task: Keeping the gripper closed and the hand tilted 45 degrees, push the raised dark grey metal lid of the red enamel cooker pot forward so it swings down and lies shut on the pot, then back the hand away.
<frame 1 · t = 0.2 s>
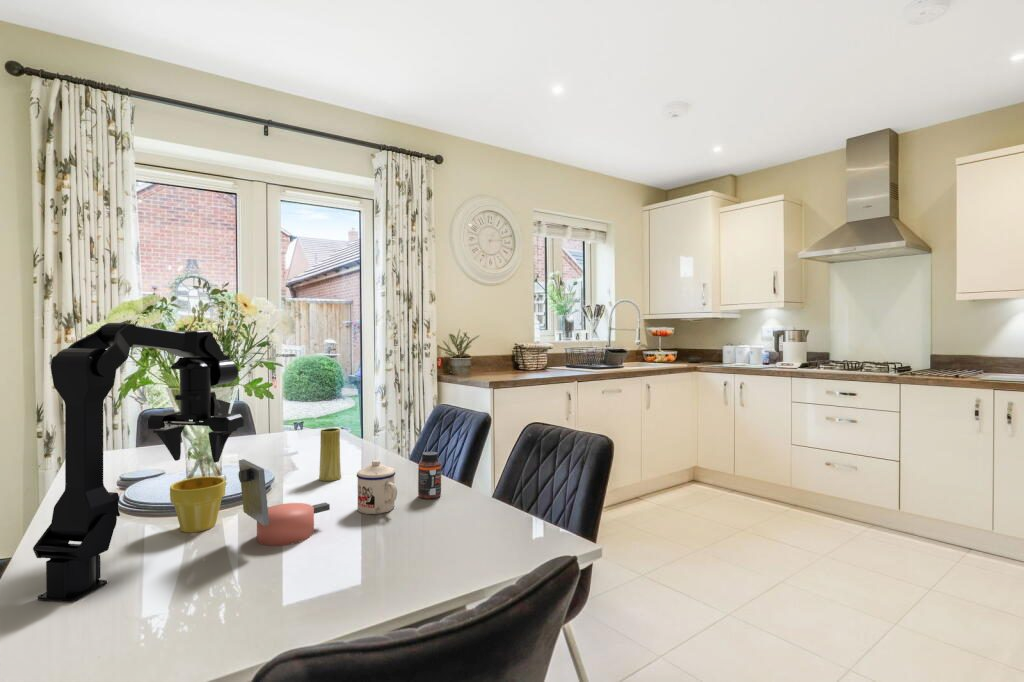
hand: (196, 461, 114), 15 cm above the table, tool pointing down, fingers open, 9 cm apart
vase: (330, 479, 154), on the table
plant pot: (198, 528, 115), on the table
teacup with lid: (379, 510, 127), on the table
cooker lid: (249, 492, 105), point 11 cm above the table, hinge at 95.0°
cooker pot: (285, 535, 111), on the table
supplement bottle: (429, 496, 138), on the table
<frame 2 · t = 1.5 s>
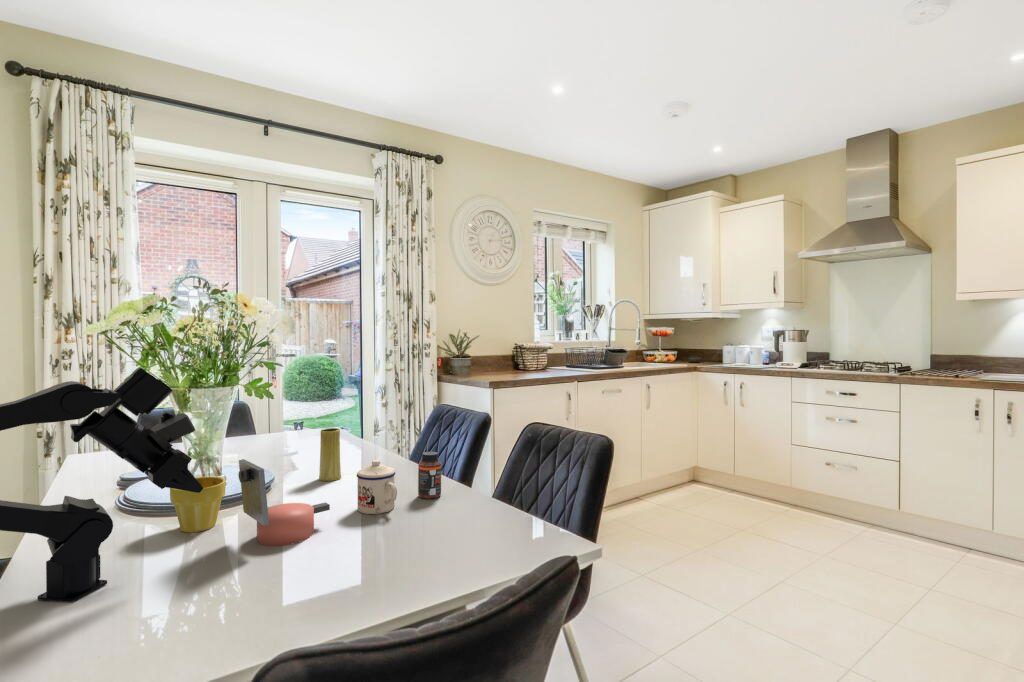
hand: (196, 487, 99), 14 cm above the table, tool tilted 45°, fingers open, 6 cm apart
nothing on the table moved.
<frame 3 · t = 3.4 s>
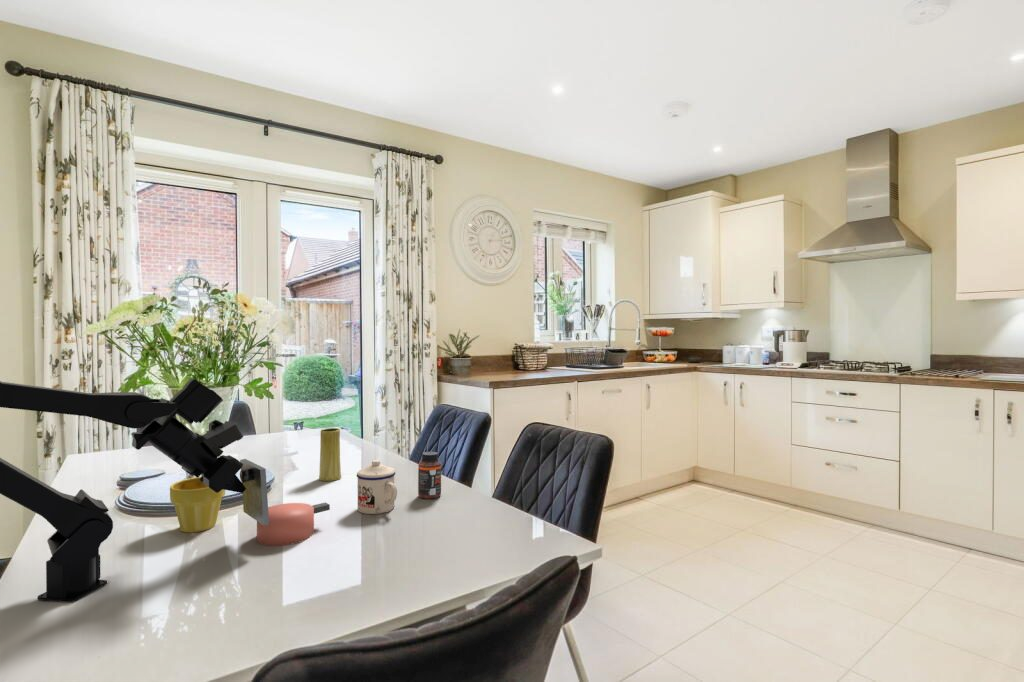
hand: (243, 490, 105), 11 cm above the table, tool tilted 45°, fingers closed, pressing on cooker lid
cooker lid: (250, 492, 106), point 11 cm above the table, hinge at 93.5°, touching gripper
everything else where it was.
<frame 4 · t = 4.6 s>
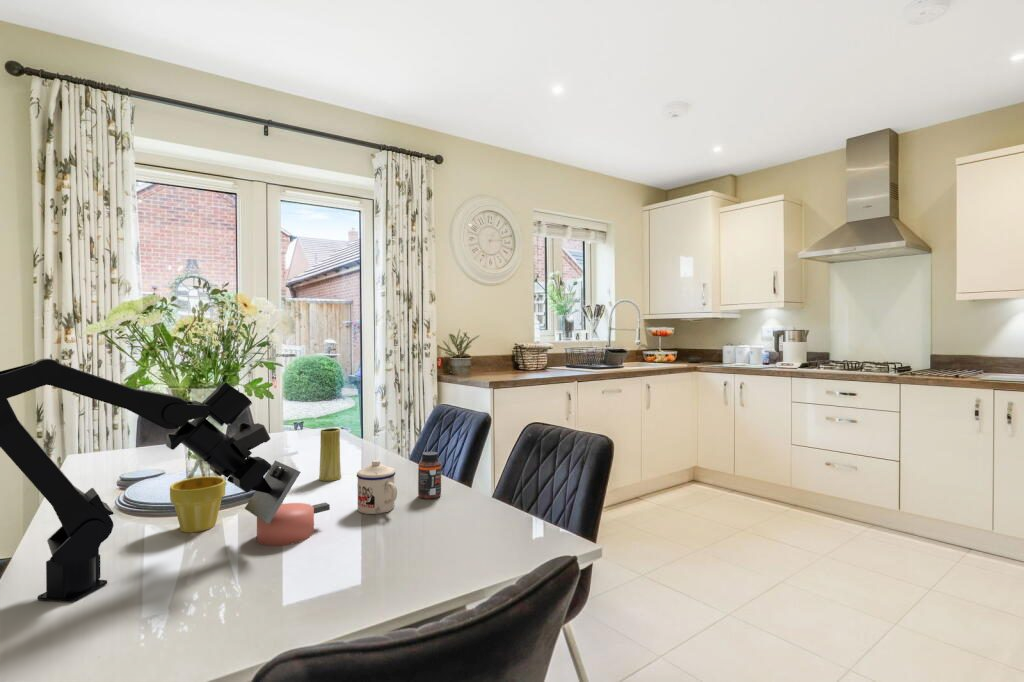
hand: (269, 491, 108), 10 cm above the table, tool tilted 45°, fingers closed, pressing on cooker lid
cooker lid: (269, 489, 108), point 10 cm above the table, hinge at 55.1°, touching gripper
everything else where it was.
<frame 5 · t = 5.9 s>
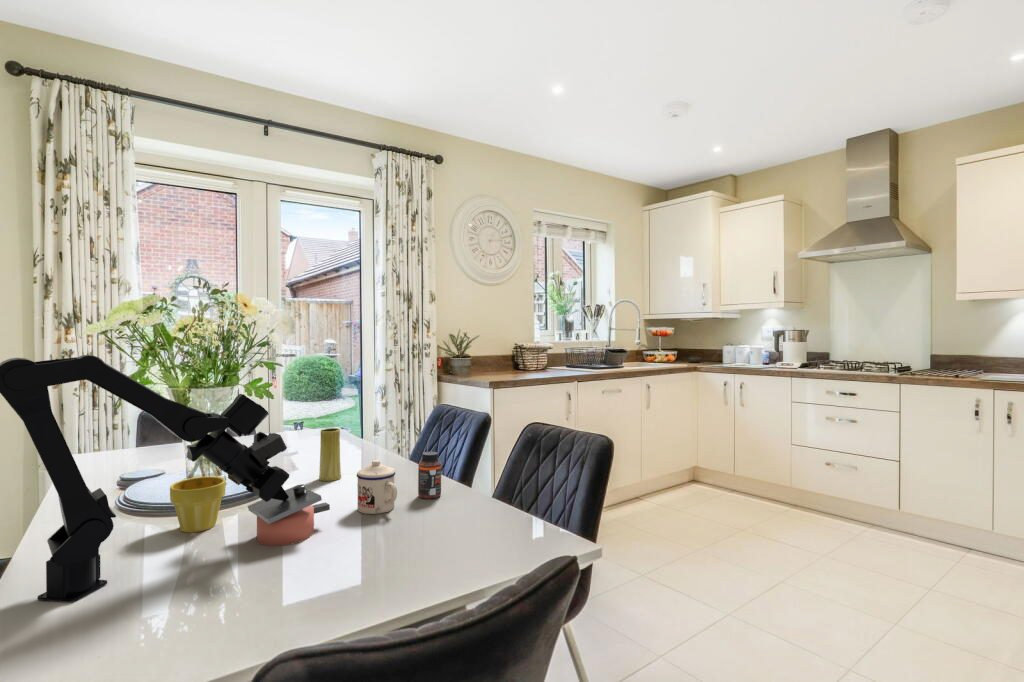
hand: (286, 498, 111), 8 cm above the table, tool tilted 45°, fingers closed, pressing on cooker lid
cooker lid: (283, 499, 110), point 8 cm above the table, hinge at 12.1°, touching gripper
everything else where it was.
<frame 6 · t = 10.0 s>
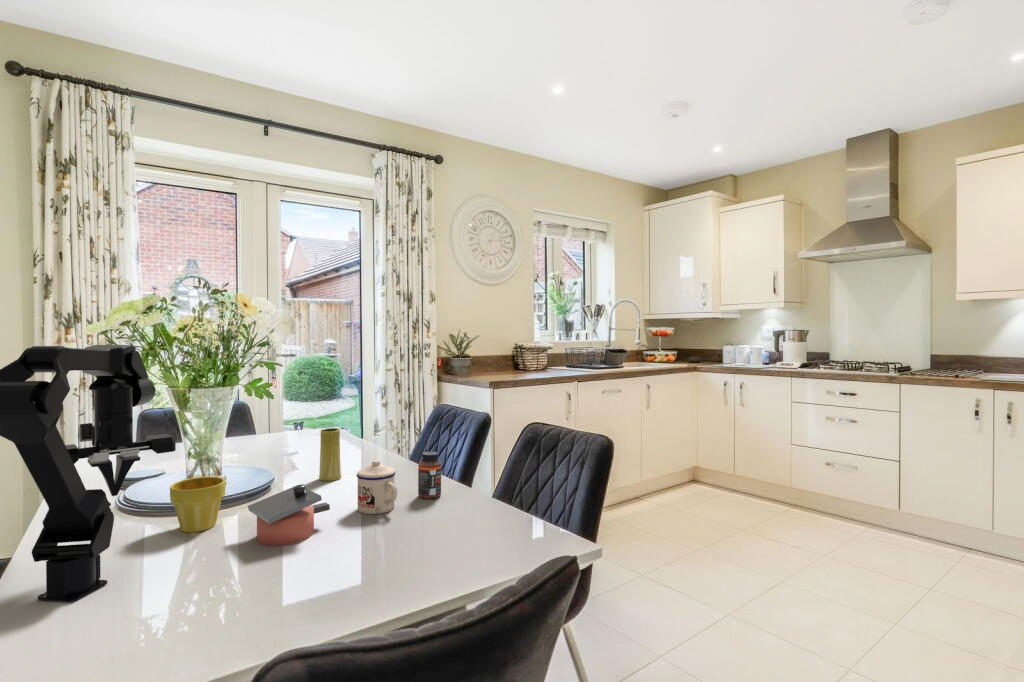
hand: (114, 495, 98), 12 cm above the table, tool pointing down, fingers closed
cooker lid: (283, 499, 110), point 8 cm above the table, hinge at 12.1°
everything else where it was.
at the end: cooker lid at +12° (first picture: +95°) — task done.
